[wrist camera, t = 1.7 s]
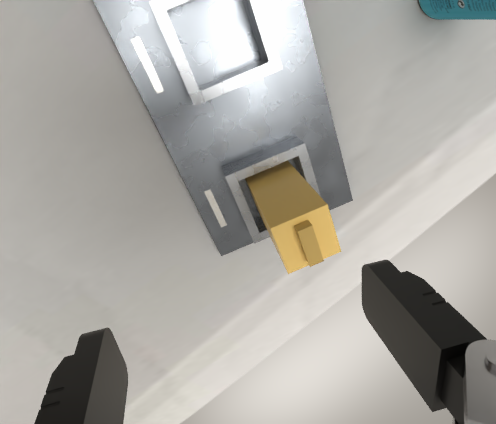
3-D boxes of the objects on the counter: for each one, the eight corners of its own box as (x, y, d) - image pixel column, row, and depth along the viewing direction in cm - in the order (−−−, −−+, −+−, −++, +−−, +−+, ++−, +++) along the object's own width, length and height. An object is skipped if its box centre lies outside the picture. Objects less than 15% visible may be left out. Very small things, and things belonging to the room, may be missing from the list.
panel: (274, -94, 25) (289, -112, 22) (348, 196, 36) (364, 211, 33) (87, -14, 25) (75, -21, 22) (220, 250, 36) (224, 270, 33)
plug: (284, 157, 32) (332, 209, 22) (297, 194, 34) (346, 257, 24) (243, 174, 32) (273, 234, 22) (258, 211, 34) (291, 280, 24)
